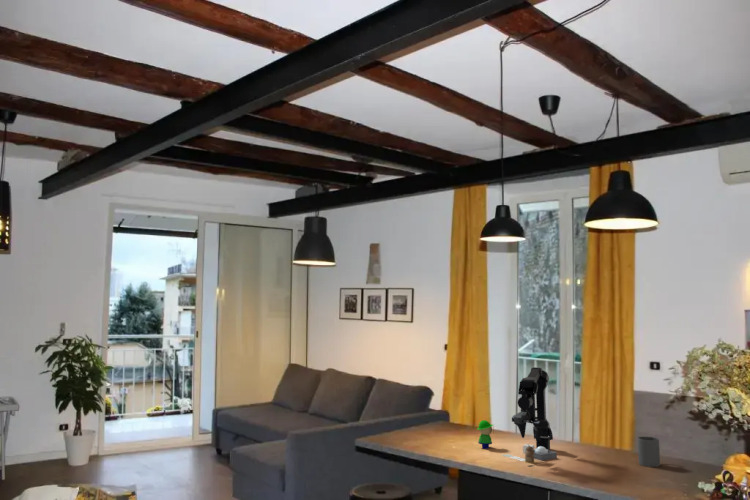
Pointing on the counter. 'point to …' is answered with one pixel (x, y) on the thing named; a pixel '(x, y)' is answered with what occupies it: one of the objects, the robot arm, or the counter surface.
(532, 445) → the die
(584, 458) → the counter surface
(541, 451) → the dome
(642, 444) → the mug
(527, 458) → the pawn
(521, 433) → the robot arm
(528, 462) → the board
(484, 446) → the toy
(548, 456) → the base
